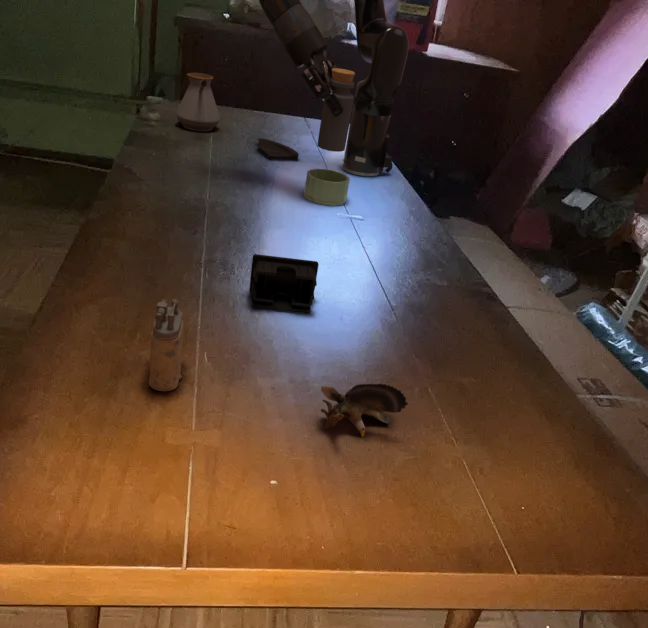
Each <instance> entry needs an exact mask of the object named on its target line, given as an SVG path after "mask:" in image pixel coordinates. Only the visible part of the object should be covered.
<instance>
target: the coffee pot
mask: <svg viewBox="0 0 648 628" xmlns="http://www.w3.org/2000/svg"><path fill="white" fill-rule="evenodd" d="M186 76H187V78H188V81H189V85H188V86H187V89H186V91H185V93H184V95H183V98H182V100H181V102H180V104H179V106H178V108H177V110H176V112H175V116H176V118H177V120H178V122H179V123H181V124H182V127H184V128H185V129H188V130H191V131H195V132H196V131H197V132H209V131H212V130H213V129H214V128H216V126H218V125H219V123H220V121H221V116H220V112H219V110H218V106H217V103H216V100H215V97H214V93H213V90H212V88H211V84H212V81H213V80H214V76H212V75H210V74H207V73H204V72H203V73H201V72H188V73H186Z"/></svg>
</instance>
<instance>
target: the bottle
mask: <svg viewBox="0 0 648 628" xmlns="http://www.w3.org/2000/svg"><path fill="white" fill-rule="evenodd" d="M355 75H356V73H355V71H353V70H349V69H344V68H339V67H338V68H334V69H332V78H331V80H332V84H331V87H332V89H333V92H334V94H333V95H336V97H337V99H338V100H339V102H340V104H341V105H342V107H343V109H344V112H343V113H342V114H341V115H339V116H338V117H334V115H333V113H332V112H331V110H330V109H329V107H328V105H327V104H326V102H325V101H323V105H322V110H321V118H320V124H319V132H318V137H317V147H318V148H319V149H322V150H324V151H328V152H334V153H336V152H337V153H340V152H341V153H342V152H345V150H346V144H347V138H348V132H349V126H350V120H351V114H352V106H353V103H354V97H355V96H354V95H353V94H352V93H351V90H352V89H354V88H355V81H354V79H355Z"/></svg>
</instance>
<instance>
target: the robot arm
mask: <svg viewBox="0 0 648 628" xmlns="http://www.w3.org/2000/svg"><path fill="white" fill-rule="evenodd" d="M258 2H259V5H260V7H261V9H262V12H264V14H265V16H266V17H267V19H268V21H269V23H270V24H271V26H272V27H273V30H274V32H275V34H276V36H277V38H278V40H279V41H280V43H281V45H282V47H283V49H284V50H285V52H286V53H287V55H288V56H289V58H290V60H291V62H292V63H293V65H294V67H295V68H297V69H301V68H303V67H304V68H305V69H304V70H303V71H301V74H300V75H301V77H302V78H303V79H304V81H305V83H306V84H307V85H308V87H309V88H310V89H311V91H312V93H313V94H314V96H315V97H316V99H317V100H322V101H323V102H324V101H325V102H326V104H327V105H328V107H329V109H330V110H331V112H332V113H333V115H334V117H338V116H339V115H341V114H342V113H343V112H344V109H343V107H342V105H341V104H340V102H339V100H338V99H337V97H336V95H333V94H334V92H333V89H332V87H331V84H332V80H331V78H332V69H334V68H339V66H338V64H337V62H336V61H335V60H334V59H331V60H329V59H328V58H327V57H326V56H325V55H324V52H325V51H326V50H327V48H328V43H327V41H326V39H325V37H324V36H323V34H322V32H321V30H320V29H319V28H318V26H317V24H316V22H315V20H314V18H313V17H312V16H311V14H310V12H309V11H308V10H307V8H306V7H305V6H304V5H303V3H302V1H301V0H258ZM353 3H354V17H355V18H354V19H355V33H356V34H355V35H356V36H355V37H356V46H357V51H358V54H359V55H360V57H361V58H362V60H363V61H365V62H366V63H368V64H370V66H369V71H368V73H367V77H366V78H365V79H363V80H360V81H357V83H356V85H355V92H354V96H353V97H354V99H353V106H352V112H351V118H350V123H349V129H348V135H347V140H346V146H345V150H344V156H343V159H342V160H343V162H342V165H341V168H342V170H343V171H345V172H347V173H349V174H352V175H355V176H361V177H377V176H382V175H383V173H384V168H386V169H385V172H386V173H389V172H390V171H391V170H392V169H393V166H394V165H393V157H392V156H390V155H389V154H387V153H388V149H389V148H388V147H389V143H390V138H391V137H390V135H389V134H388V131H389V125H390V120H391V116H392V115H391V114H392V111H393V105H394V100H395V96H396V94H397V92H398V91H399V89H400V86H401V84H402V80H403V77H404V76H403V75H404V73H405V67H406V63H407V59H408V55H409V48H410V47H409V45H410V41H409V36H408V33H407V32H406V30H405V29H404V28H403V27H401V26H400V25H397V24H394V23H391V22H388V18H387V14H386V8H385V0H353Z"/></svg>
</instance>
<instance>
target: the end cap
mask: <svg viewBox="0 0 648 628" xmlns="http://www.w3.org/2000/svg"><path fill="white" fill-rule="evenodd" d="M251 259H252V260H251V269H250V277H249V278H250V279H249V289H248V290H249V293H251V308H253V309H260V310H267V311H268V310H269V311H278V312H286V313H287V312H288V313H297V314H306V315H309V314H311V312H312V305H313V302H314V300H315V289H316V287H317V286H318V284H317V283H318V282H317V277H318V272H319V261H316V260H308V259H300V258H291V257H284V256H275V255H266V254H258V253H254V254H253V255H252V258H251Z"/></svg>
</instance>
